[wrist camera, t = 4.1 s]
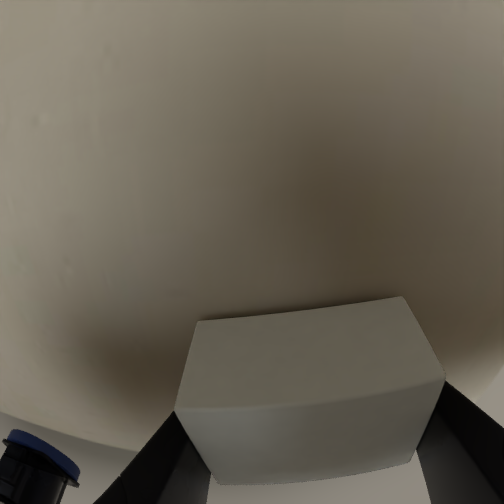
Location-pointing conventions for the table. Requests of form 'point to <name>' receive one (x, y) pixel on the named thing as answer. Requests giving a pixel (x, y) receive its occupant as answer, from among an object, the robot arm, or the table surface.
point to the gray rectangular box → (309, 392)
